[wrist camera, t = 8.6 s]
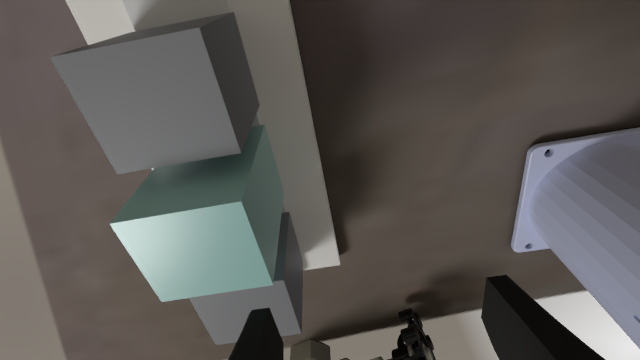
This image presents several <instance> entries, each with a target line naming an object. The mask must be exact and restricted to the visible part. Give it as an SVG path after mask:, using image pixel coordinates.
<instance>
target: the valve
mask: <svg viewBox="0 0 640 360" xmlns="http://www.w3.org/2000/svg"><path fill="white" fill-rule="evenodd" d="M398 314H399V318H400V321H401V322H403V321H406V322H407V323H408V328H405V329H402V330H401V334H400V336H399V338H398V341H397V342H398V343H397V345H398V348H397V349H394V350H393V351H392V358H391V359H388V360H436V359H435V356H434V353H433V350H434V347H433V343H432V341H431V339H430V337H429V336H428V335H426V336H425V334H424V332H423V329H422V327H423V326H422V322H421V319H420V317H419V315H418V314H417V313H415V314H414V312H413V310H412V309H411V308H409V309H406V310H403V311H400V312H399V313H398ZM290 360H330V347H329V346H328V345H326V344H325V343H322V342H316V341H313V340H308V341H305V342H302V343H300V344H297V345H294V346H292V347H291V355H290ZM341 360H349V359H348V358H344V359H341ZM371 360H383V358H382V357H377V358H374V359H371Z"/></svg>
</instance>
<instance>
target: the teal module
mask: <svg viewBox="0 0 640 360" xmlns="http://www.w3.org/2000/svg"><path fill="white" fill-rule="evenodd" d="M283 197H284V189H283V186H282V182H281V179H280V176H279V172H278V169H277V165H276V162H275V158H274V155H273V151H272V148H271V145H270V141H269V138H268V134H267V131H266V127H265V124H264V125H258V126H253V127H251V129H250V132H249V134H248V137H247V139H246V142H245V145H244V147H243V150H242V152H241V153H239V154H233V155H227V156H221V157H216V158H210V159H204V160H198V161H192V162H186V163H180V164H174V165H169V166H163V167H157V168H154V169H153V171H152V172H151V173H150V174H149V176H148V177H147V178H146V179H145V180H144V182H143V183H142V184H141V185H140V187H139V188H138V189H137V190H136V192H135V193H134V194H133V195H132V196H131V198H130V199H129V200H128V201H127V203H126V204H125V205H124V206H123V208H122V209H121V210H120V211H119V213H118V214H117V215H116V216H115V217H114V219H113V220H112V221H111V222H110V226H111V227H112V229H113V230H114V232H115V233H116V235H117V236H118V238H119V239H120V241H121V242H122V244H123V245H124V247H125V248H126V250H127V251H128V253H129V254H130V255H131V257H132V258H133V260H134V261H135V263H136V264H137V266H138V267H139V269H140V270H141V272H142V273H143V275H144V276H145V278H146V279H147V281H148V282H149V284H150V285H151V287H152V288H153V290H154V291H155V293H156V294H157V296H158V297H159V299H160V300H161V302H165V301H171V300H178V299H185V298H191V297H198V296H205V295H211V294H218V293H225V292H231V291H238V290H245V289H251V288H258V287H265V286H271V285H273V282H274V274H275V265H276V257H277V248H278V239H279V231H280V222H281V214H282V205H283Z"/></svg>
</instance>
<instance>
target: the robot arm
mask: <svg viewBox="0 0 640 360" xmlns="http://www.w3.org/2000/svg"><path fill="white" fill-rule="evenodd" d="M548 149H550V150H549V152H548V153H546V154H545V152H546V151H547V150H548ZM511 247H512V249H513V250H514V251H515V252H526V251H534V250H541V249H548V248H550V249H551V250H552V251H553V252H554V253H555V254H556V255H557V256H558V258H559V259H560V260H561V261H562V262H563V263H564V264H565V265H566V267H567V268H568V269H569V270H570V271H571V272H572V273H573V274H574V276H575V277H576V278H577V279H578V280H579V281H580V282H581V283H582V285H583V286H584V287H585V288H586V289H587V290H588V291H589V292H590V293H591V295H593V297H594V298H595V299H596V300H597V301H598V302H599V304H600V305H601V306H602V307H603V308H604V309H605V310H606V311H607V312H608V314H609V315H610V316H611V317H612V318H613V319H614V320H615V322H616V323H617V324H618V325H619V326H620V327H621V328H622V329H623V331H624V332H626V334H627V335H628V336H629V337H630V338H631V340H632V341H633V342H634V343H635V344H636V345H637V346H638V347H639V349H640V127H638V128H632V129H626V130H620V131H614V132H608V133H601V134H595V135H589V136H583V137H577V138H571V139H564V140H558V141H552V142H546V143H540V144H536V145H533V146H532V147H531V148H530V149H529V150H528V153H527V157H526V163H525V169H524V174H523V180H522V186H521V191H520V197H519V203H518V208H517V214H516V219H515V225H514V231H513V236H512V242H511ZM481 318H482V320H483V323H484V325H485V328H486V331H487V333H488V336H489V337H490V340H491V343H492V345H493V347H494V350H495V352H496V354H497V356H498V358H499V359H500V360H605V359H604V358H603V357H601V356H600V355H599V354H597V353H596V352H595V351H594V350H592V349H591V348H590V347H589V346H587V345H586V344H585V343H584V342H582V341H581V340H580V339H579V338H578V337H576V336H575V335H574V334H573V333H572V332H570V331H569V330H568V329H567V328H566V327H564V326H563V325H562V324H561V323H560V322H558V321H557V320H556V319H555V318H554V317H553V316H551V315H550V314H549V313H548V312H547V311H546V310H545V309H544V308H542V307H541V306H540V305H539V304H538V303H537V302H536V301H535V300H533V299H532V298H531V297H530V296H529V295H528V294H527V293H526V292H525V291H524V290H522V289H521V288H520V287H519V286H518V285H517V284H516V283H515V282H514V281H513V280H512V279H510V278H509V277H508V276H507V275H502V276H495V277H488V278H486V286H485V293H484V301H483V308H482V316H481ZM228 360H283V341H282V338H281V336H280V333H279V331H278V328H277V326H276V323H275V320H274V318H273V315H272V313H271V310H270V308H263V309H255V310H252V311H251V312H250V313H249V315H248V318H247V320H246V322H245V325H244V327H243V329H242V332H241V334H240V336H239V338H238V340H237V343H236V345H235V347H234V349H233V351H232V353H231V355H230V357H229V359H228Z"/></svg>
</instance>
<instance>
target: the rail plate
mask: <svg viewBox="0 0 640 360" xmlns="http://www.w3.org/2000/svg"><path fill="white" fill-rule="evenodd" d="M66 2H67V4H68V6H69V8H70V10H71V12H72V14H73V16H74V18H75V20H76V22H77V24H78V26H79V28H80V30H81V32H82V34H83V36H84V38H85V40H86V42H87V43H88V45H87V46H84V47H81V48H78V49H74V50H71V51H68V52H65V53H61V54H58V55H55V56H51V57H50V59H51V60H52V62H53V64H54V66H55V67H56V69H57V71H58V72H59V74H60V76H61V78H62V79H63V81H64V83H65V85H66V86H67V88H68V90H69V92H70V93H71V95H72V97H73V98H74V100H75V102H76V104H77V105H78V107H79V109H80V111H81V112H82V114H83V116H84V118H85V119H86V121H87V123H88V124H89V126H90V128H91V130H92V131H93V133H94V135H95V137H96V138H97V140H98V142H99V143H100V145H101V147H102V149H103V150H104V152H105V154H106V156H107V157H108V159H109V161H110V163H111V164H112V166H113V168H114V169H115V171H116V173H117V174H122V173H127V172H133V171H139V170H145V169H152V171H153V169H154V168H157V167H163V166H169V165H174V164H180V163H186V162H192V161H198V160H204V159H210V158H216V157H221V156H227V155H233V154H239V153H241V152H242V150H243V147H244V145H245V142H246V139H247V137H248V134H249V132H250V129H251V127H253V126H258V125H264V124H265V127H266V131H267V134H268V138H269V141H270V145H271V148H272V151H273V155H274V158H275V162H276V165H277V169H278V172H279V176H280V179H281V182H282V186H283V189H284V197H283V205H282V214H281V222H280V231H279V239H278V248H277V257H276V265H275V274H274V282H273V285H271V286H265V287H258V288H251V289H245V290H238V291H231V292H225V293H218V294H211V295H205V296H198V297H191V298H189V299H190V301H191V303H192V304H193V306H194V308H195V310H196V311H197V313H198V315H199V317H200V318H201V320H202V322H203V324H204V325H205V327H206V329H207V330H208V332H209V334H210V336H211V337H212V339H213V341H214V343H215V344H216V345H220V344H227V343H235V342H237V340H238V338H239V336H240V334H241V332H242V329H243V327H244V325H245V322H246V320H247V318H248V315H249V313H250V312H251V311H252V310H255V309H263V308H270V310H271V313H272V315H273V318H274V320H275V323H276V326H277V328H278V331H279V333H280V336H288V335H296V334H302V289H303V270H308V269H315V268H322V267H329V266H336V265H340V258H339V252H338V247H337V242H336V237H335V231H334V226H333V221H332V216H331V211H330V206H329V201H328V195H327V190H326V185H325V180H324V175H323V170H322V165H321V159H320V154H319V149H318V144H317V139H316V134H315V129H314V123H313V118H312V113H311V108H310V103H309V98H308V93H307V88H306V82H305V77H304V72H303V67H302V62H301V57H300V52H299V46H298V41H297V36H296V31H295V26H294V21H293V16H292V10H291V5H290V0H66Z"/></svg>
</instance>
